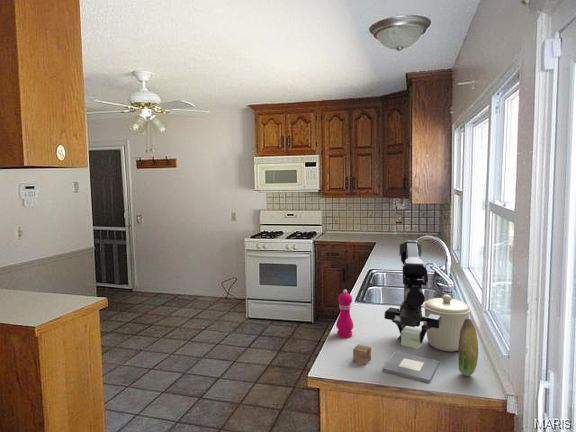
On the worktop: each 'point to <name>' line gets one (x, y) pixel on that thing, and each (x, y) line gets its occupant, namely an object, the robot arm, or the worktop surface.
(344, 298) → the pepper mill
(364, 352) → the walnut block
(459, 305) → the canister
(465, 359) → the vegetable
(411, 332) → the green block
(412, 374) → the build board
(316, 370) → the worktop surface
